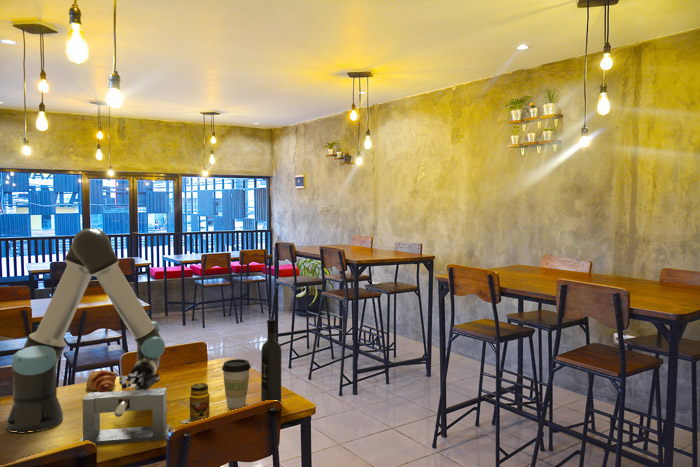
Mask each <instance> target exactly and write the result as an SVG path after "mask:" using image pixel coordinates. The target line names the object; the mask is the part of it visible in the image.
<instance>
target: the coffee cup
mask: <svg viewBox="0 0 700 467" xmlns="http://www.w3.org/2000/svg"><path fill="white" fill-rule="evenodd" d="M250 369H251V364H250V362H249V360H246V359H241V358H239V359H238V358H236V359H229V360H226V361H224V363H223V365H222V367H221V370H222V372H223V384H224V392H225V398H226V406H227V407H228V409H240V408H239V407H241V408H244V407H243V406H246V401H247V395H248V388H249V381H250V380H249V379H250Z"/></svg>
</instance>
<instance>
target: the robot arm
mask: <svg viewBox="0 0 700 467" xmlns="http://www.w3.org/2000/svg"><path fill="white" fill-rule="evenodd" d="M72 239H73V240H72V243H71V245H70V247H69V249H68V251H67V254H66V256H65V258H64V261H65V263H66V267H65V269H64V272H63V274H61V277H60V280H59V282H58V285H56V289H55V291H54V293H53V294H52V297H51V299H50V301H49V304H48V306H47V308H46V309H45V312H44V314H43V316H42V318H41V321H40V323H39V325H38V327H37V329H36V331H33V332H32V333H30V334H28V337H27V339H26V341H25V343H24V345H23V347H22V349H20V350H18V351H16V352H15V353H13V356H12V362H11V367H12V397H13V398H12V404H11V409H10V411H9V414H8V417H7V420H6V430H7V429H8V430H10V431H17V432H28V431H37V430H42V429H45V430H47V429H46V428H49V427H51V428H53V427H52V426H54V427H56V426H57V425H56V424H58V423H59V424H60V423H62V422H61V421H63V419H64V412H63V409H62V407H61V404H60V402H59V399H58V397H57V368H58V364H59V360H60V359H61V356H62V354H63V352H64V349H65V348H66V342H65V339H64V338H65V336H66V334H67V332H68V330H69V327H70V325H71V323H72V320H73V319H74V316H75V314H76V312H77V309H78V307H79V306H80V303H81V301H82V299H83V296H84V294H85V292H86V289H87V288H88V285H89V283H90V281H91V278H92V276H93V277H95V278H96V280H97V281H98V282H99V284H100V286H101V287H102V288H103V290H104V293H105V294H106V295H107V297H108V299H109V300H110V302H111V304H112V305H113V307H114V308H115V310H116V311H117V313H118V315H119V317H120V318H121V320H122V321H123V323H124V324H125V327H126V328H127V329H128V331H129V333H130V334H131V336H132V337H133V339H134V340H135V343H136V350H137V351H136V363H135V364H134V366H133V367H132V369H131V371H130V373H129V374H127V376H126V375H125V376H124V375H119V376H118V377H119V378H118V379H119V381H118V382H119V383H118V384H119V385H121V391H122V390H123V389H125V388H127V387H133V388H135V389H136V390H147V389H151V387H152V386H154V385H155V384H156V383H158V382H160V373H156V372H157V370H158V369H159V367H160V364H161V356H162V355H163V354H164V352H165V350H166V344H165V340H164V339H163V338H162V336H161V335H160V328H159V327H160V326H159V322H158V321H154V320H153V321H152V319H151V318H150V316H149V315H148V314H147V311H146V310H145V308H144V307H143V305H142V303H141V301H140V299H139V298H138V297H137V295H136V293H135V291H134V289H133V288H132V286H131V285H130V282H128V280H127V278H126V276H125V275H124V273H123V271H122V270H121V268H120V267H119V263H120V260H119V258H118V256H117V255H116V253H115V251H114V248H113V245H112V242H111V240H110V238H109V236H108V234H106V233H105V231H104V230H101V229H99V228H95V227H88V228H87V227H86V228H83V229H82V230H79V232H77V233H76V234H75V235H74V237H73V238H72ZM127 382H128V383H127ZM59 424H58V425H59ZM55 425H56V426H55ZM49 429H50V428H49ZM8 430H7V431H8ZM42 431H43V430H42ZM37 432H38V431H37Z"/></svg>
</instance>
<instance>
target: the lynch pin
mask: <svg viewBox="0 0 700 467" xmlns="http://www.w3.org/2000/svg"><path fill="white" fill-rule="evenodd" d="M131 390H136V389H135V388H133V387H127V388H125V389H123V390H122V389H121V391H131ZM129 403H130V399H122V401H121V402H120V404H119V406H118V407H117V409H116V410H115V412H113V414H114V416H115V417H117V418H119V417H122V416H123V414H124V412H126V411H125V409H126V407H127V406H128V404H129Z"/></svg>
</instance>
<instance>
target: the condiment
mask: <svg viewBox="0 0 700 467" xmlns="http://www.w3.org/2000/svg"><path fill="white" fill-rule="evenodd" d="M190 389H191V390H190V395H189V418H187V419H184V420H183V421H180V423H181V424H185V423H190V422H194V421H197V420H201V419H205V418H208V417H209V418H210V392H209V385H208V384H207V383H204V382H200V383H198V382H197V383H194V384H192V385H191V386H190Z"/></svg>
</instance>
